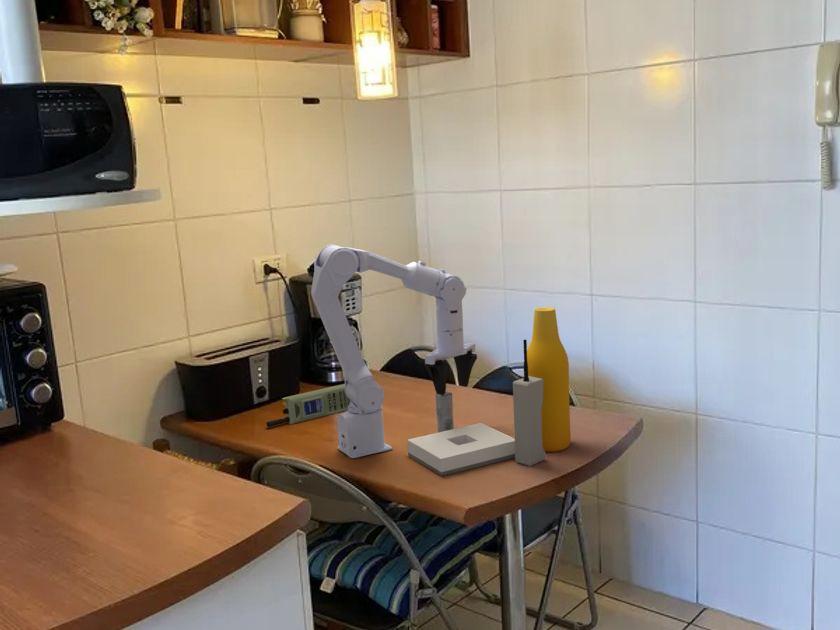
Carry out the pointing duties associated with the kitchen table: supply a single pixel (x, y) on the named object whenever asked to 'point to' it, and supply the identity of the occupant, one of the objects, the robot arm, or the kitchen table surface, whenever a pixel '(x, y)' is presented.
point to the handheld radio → (313, 405)
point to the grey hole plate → (461, 448)
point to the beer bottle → (551, 379)
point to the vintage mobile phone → (528, 417)
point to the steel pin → (444, 412)
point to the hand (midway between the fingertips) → (452, 389)
